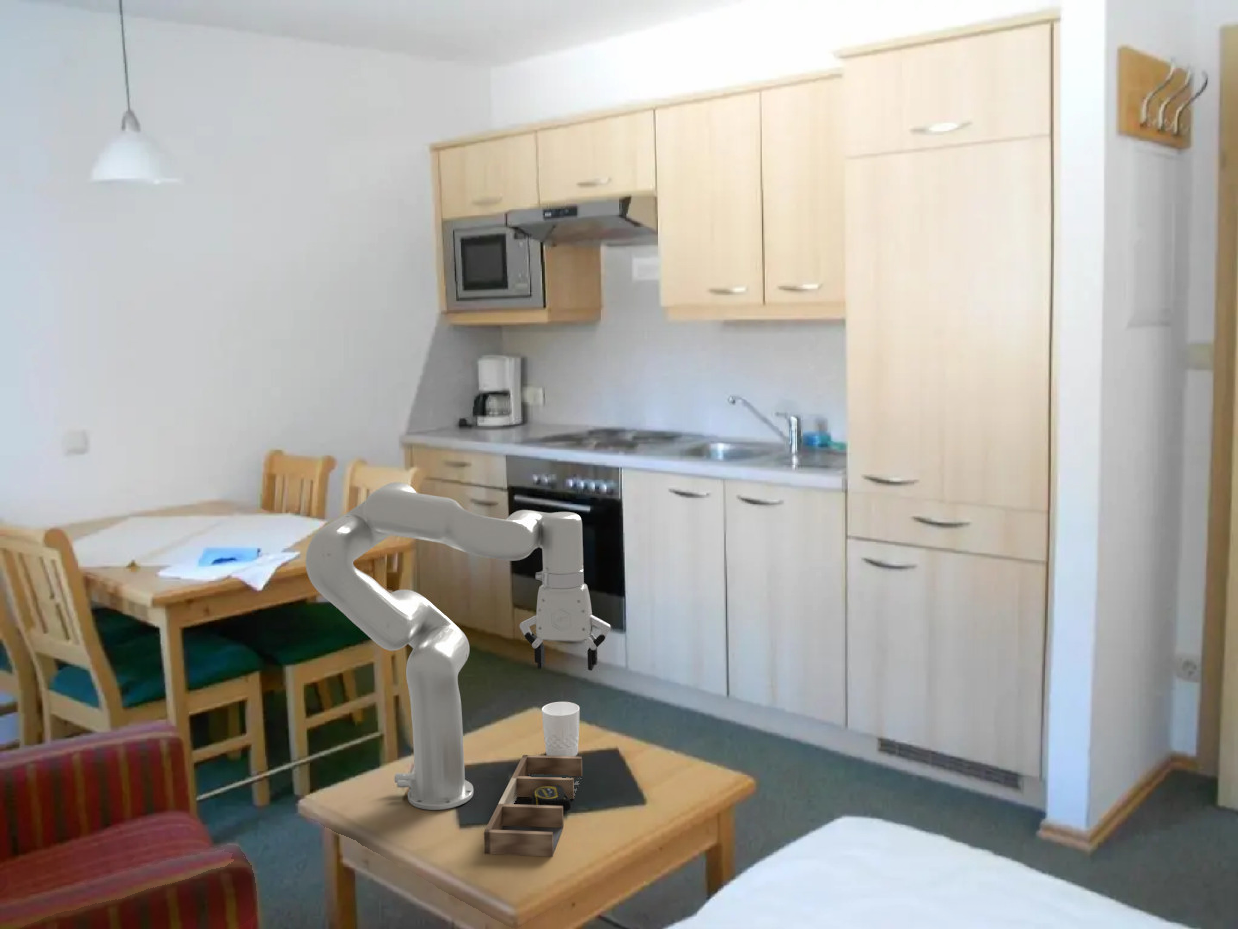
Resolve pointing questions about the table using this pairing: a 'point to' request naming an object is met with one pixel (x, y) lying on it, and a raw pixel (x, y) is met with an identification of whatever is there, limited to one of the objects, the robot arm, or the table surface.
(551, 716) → the white cup
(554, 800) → the tape measure
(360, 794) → the table surface
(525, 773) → the wooden wall shelf
